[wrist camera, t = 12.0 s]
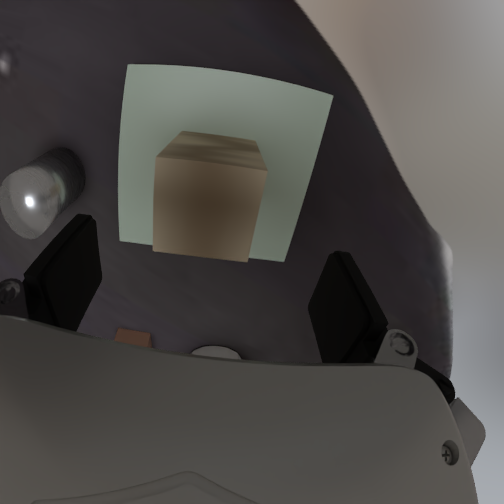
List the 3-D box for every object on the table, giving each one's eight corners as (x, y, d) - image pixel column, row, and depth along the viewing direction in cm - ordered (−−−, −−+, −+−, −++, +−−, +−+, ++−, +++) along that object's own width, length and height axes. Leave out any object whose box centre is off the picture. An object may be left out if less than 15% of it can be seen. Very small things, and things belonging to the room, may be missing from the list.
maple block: (255, 140, 18) (267, 171, 12) (242, 205, 20) (247, 262, 15) (181, 130, 17) (155, 157, 11) (175, 197, 20) (153, 251, 14)
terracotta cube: (150, 332, 30) (144, 360, 26) (152, 351, 32) (147, 378, 28) (118, 327, 29) (110, 354, 26) (123, 346, 31) (116, 372, 28)
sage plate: (328, 94, 17) (333, 95, 16) (282, 255, 24) (283, 262, 24) (132, 65, 14) (128, 64, 14) (123, 234, 22) (119, 240, 21)
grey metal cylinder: (84, 147, 17) (43, 173, 12) (86, 204, 20) (53, 242, 15) (39, 147, 17) (-5, 173, 12) (43, 200, 19) (6, 235, 14)
